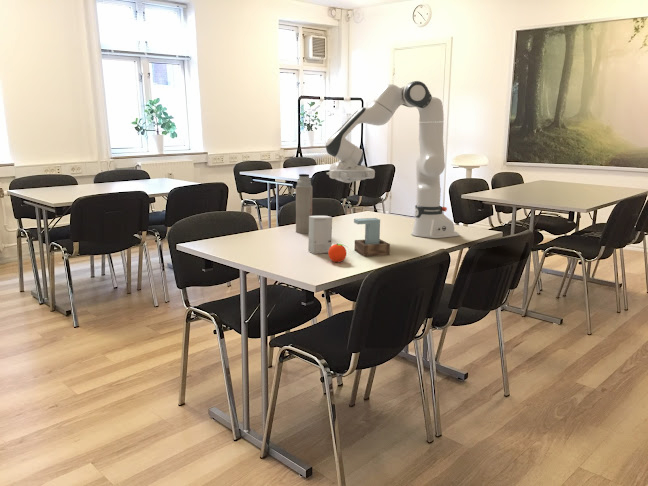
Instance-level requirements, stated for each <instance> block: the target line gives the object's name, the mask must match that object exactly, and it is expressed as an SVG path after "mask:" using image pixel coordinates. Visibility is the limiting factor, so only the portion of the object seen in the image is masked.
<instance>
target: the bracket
mask: <svg viewBox="0 0 648 486" xmlns="http://www.w3.org/2000/svg"><path fill="white" fill-rule="evenodd" d="M353 223H354V224H356V225H364V227H365V228H364V229H365V231H364V233H365V234H364V240H365V244H366V245H369V244H379V241H380V239H381V238H380V236H381V219H380V218H377V217H370V218H369V217H365V218H364V217H363V218H354V219H353Z"/></svg>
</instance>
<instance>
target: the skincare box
mask: <svg viewBox="0 0 648 486" xmlns="http://www.w3.org/2000/svg"><path fill="white" fill-rule="evenodd" d="M332 230H333V217H332V216H328V215H312V216H309V233H308V249H307V250H308V252H310V253H311V254H313V255H317V254H318V255H319V254H326V253H328V252H329V249H330V247H331V246H332V240H333V239H332V238H333V237H332V233H333V231H332Z"/></svg>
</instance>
